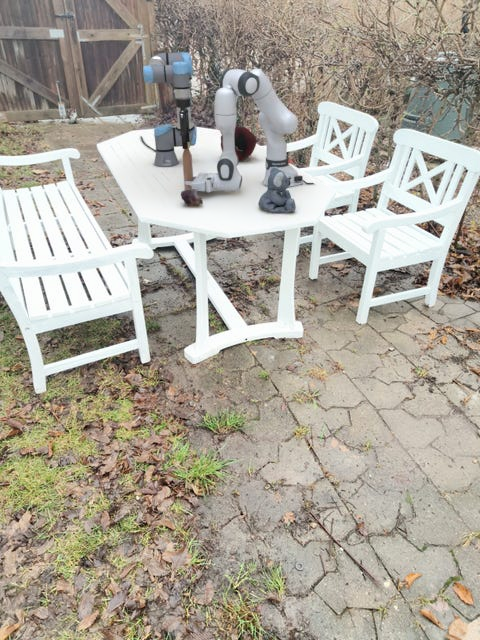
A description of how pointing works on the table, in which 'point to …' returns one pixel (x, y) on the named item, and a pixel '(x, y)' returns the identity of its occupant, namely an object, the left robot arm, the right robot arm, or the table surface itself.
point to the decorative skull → (243, 142)
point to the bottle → (187, 168)
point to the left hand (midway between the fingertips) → (186, 147)
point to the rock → (191, 197)
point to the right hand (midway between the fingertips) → (187, 180)
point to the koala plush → (277, 193)
